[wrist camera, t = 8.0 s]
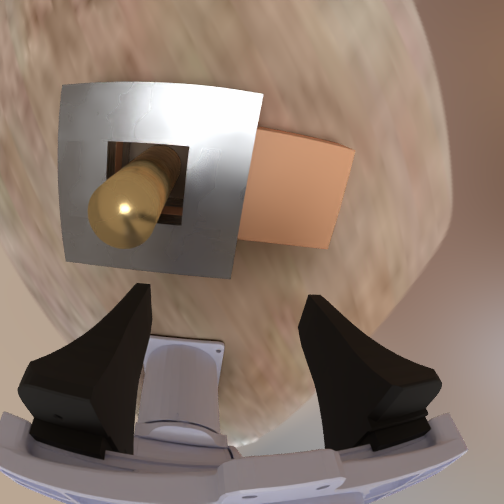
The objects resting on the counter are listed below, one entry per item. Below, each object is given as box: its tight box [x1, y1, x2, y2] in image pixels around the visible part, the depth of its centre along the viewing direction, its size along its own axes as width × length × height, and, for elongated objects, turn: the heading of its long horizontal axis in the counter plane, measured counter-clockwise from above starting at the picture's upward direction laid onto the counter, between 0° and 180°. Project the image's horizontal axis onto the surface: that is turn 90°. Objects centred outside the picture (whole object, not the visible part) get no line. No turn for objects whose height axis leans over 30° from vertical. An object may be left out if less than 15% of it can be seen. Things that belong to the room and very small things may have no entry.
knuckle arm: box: [115, 126, 355, 249], centre depth 18 cm, size 7×16×3 cm, turn 80°
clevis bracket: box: [58, 82, 263, 279], centre depth 17 cm, size 11×11×4 cm
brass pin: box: [88, 145, 181, 249], centre depth 15 cm, size 3×3×9 cm
